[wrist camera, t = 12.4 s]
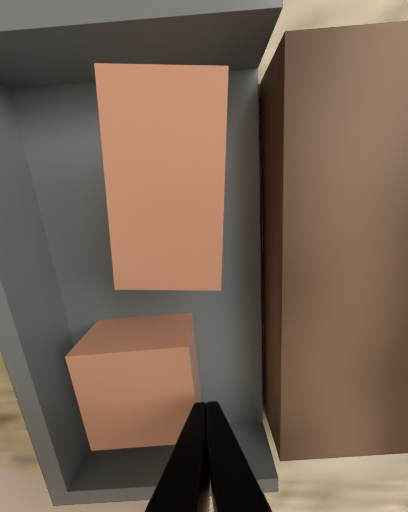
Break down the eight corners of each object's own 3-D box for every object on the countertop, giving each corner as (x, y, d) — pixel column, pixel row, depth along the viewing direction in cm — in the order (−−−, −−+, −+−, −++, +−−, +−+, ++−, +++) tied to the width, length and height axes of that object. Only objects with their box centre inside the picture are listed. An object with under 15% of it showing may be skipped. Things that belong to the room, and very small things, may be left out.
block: (64, 356, 8) (97, 320, 10) (91, 450, 9) (115, 397, 11) (188, 346, 8) (191, 312, 10) (200, 442, 9) (200, 390, 11)
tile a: (228, 66, 4) (93, 63, 4) (220, 290, 5) (115, 289, 5) (215, 138, 8) (150, 136, 8) (212, 250, 9) (155, 250, 9)
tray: (253, 51, 8) (283, -35, 5) (260, 423, 12) (278, 491, 9) (-6, 73, 8) (-120, 1, 5) (88, 435, 12) (53, 505, 10)
